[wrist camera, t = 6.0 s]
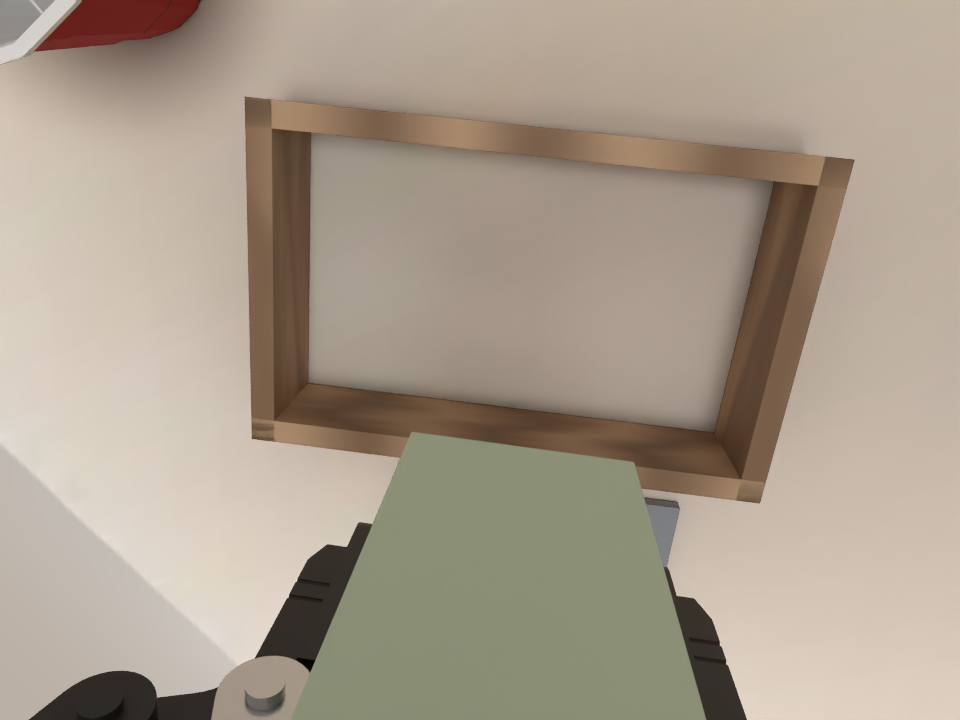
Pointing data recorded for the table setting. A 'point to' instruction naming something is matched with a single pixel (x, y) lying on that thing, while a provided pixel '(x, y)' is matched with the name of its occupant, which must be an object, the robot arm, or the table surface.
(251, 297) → the wooden frame
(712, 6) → the table surface
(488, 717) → the sage block
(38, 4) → the plastic cup
